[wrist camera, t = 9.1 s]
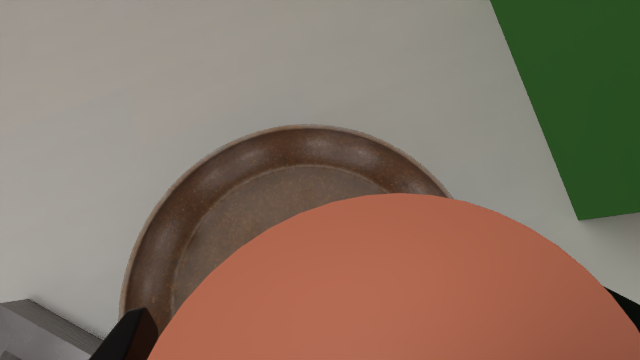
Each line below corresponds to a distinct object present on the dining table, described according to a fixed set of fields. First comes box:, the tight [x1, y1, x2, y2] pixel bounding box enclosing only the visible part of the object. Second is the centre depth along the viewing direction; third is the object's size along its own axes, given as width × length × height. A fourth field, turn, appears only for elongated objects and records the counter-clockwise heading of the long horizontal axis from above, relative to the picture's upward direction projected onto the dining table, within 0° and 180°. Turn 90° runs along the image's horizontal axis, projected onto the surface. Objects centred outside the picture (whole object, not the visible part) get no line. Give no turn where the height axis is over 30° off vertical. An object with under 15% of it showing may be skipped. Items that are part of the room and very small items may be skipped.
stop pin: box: [147, 193, 640, 360], centre depth 10 cm, size 5×5×15 cm
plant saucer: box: [118, 124, 453, 338], centre depth 19 cm, size 18×18×3 cm
